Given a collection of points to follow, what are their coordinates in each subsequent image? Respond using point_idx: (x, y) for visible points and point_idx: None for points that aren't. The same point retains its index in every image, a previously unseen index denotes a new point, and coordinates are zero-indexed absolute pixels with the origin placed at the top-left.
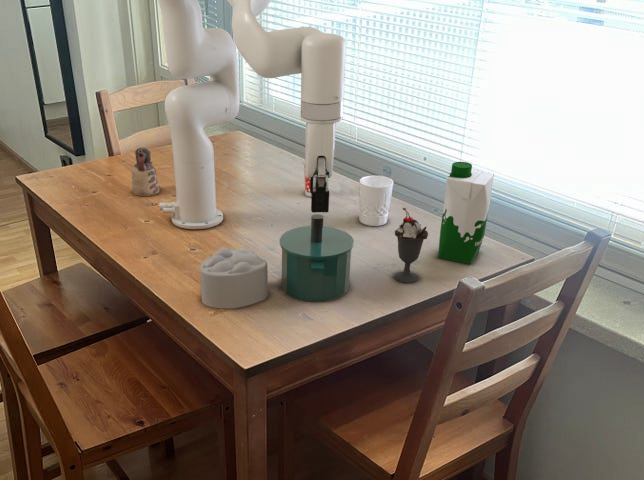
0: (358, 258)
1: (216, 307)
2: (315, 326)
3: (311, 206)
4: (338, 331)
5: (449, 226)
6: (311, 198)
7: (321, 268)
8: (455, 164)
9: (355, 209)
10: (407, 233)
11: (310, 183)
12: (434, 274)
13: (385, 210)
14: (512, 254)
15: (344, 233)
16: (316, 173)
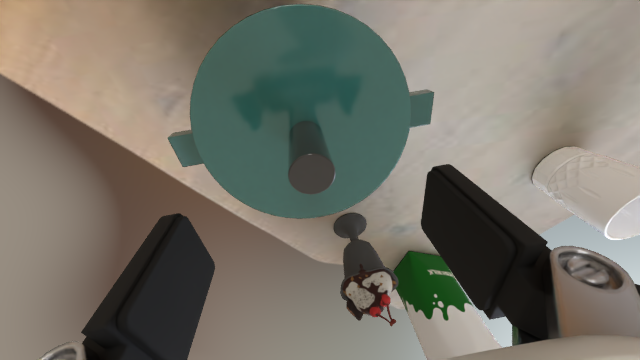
0: (414, 161)
1: None
2: (145, 124)
3: (147, 236)
4: (150, 162)
5: (422, 301)
6: (118, 278)
7: (180, 160)
8: None
9: (620, 133)
10: (352, 292)
11: (468, 196)
12: None
13: (555, 200)
14: None
15: (359, 194)
16: (512, 279)
